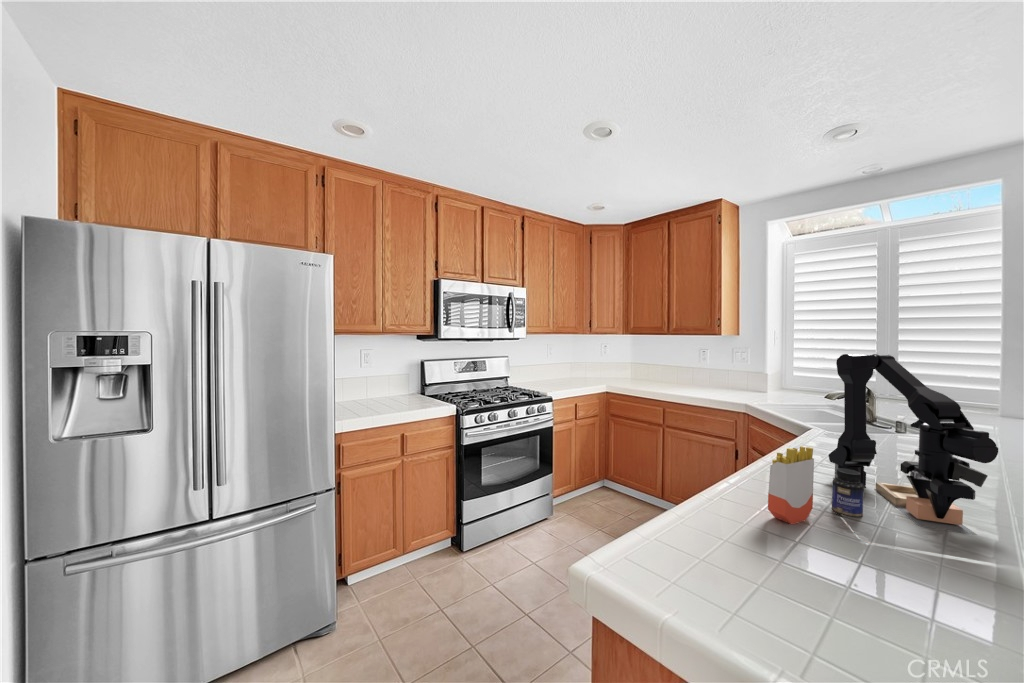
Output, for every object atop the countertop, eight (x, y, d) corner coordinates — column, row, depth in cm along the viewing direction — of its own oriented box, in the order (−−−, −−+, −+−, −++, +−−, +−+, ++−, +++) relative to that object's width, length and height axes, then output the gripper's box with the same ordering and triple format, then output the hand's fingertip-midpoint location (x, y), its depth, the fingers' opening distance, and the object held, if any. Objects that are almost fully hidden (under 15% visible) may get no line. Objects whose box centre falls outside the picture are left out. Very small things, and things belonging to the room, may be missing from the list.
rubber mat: (918, 528, 95) (918, 525, 95) (873, 490, 118) (873, 488, 118) (977, 537, 91) (977, 534, 91) (918, 496, 114) (918, 494, 114)
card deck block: (917, 518, 98) (917, 504, 98) (906, 509, 103) (906, 495, 103) (962, 525, 94) (962, 510, 94) (948, 515, 99) (948, 501, 99)
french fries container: (765, 518, 99) (767, 445, 99) (793, 510, 104) (795, 441, 103) (785, 526, 95) (787, 450, 95) (812, 518, 100) (814, 446, 99)
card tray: (895, 505, 106) (895, 497, 106) (875, 489, 117) (875, 482, 117) (943, 512, 103) (943, 503, 103) (918, 494, 114) (918, 487, 114)
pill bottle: (834, 516, 101) (835, 472, 101) (828, 507, 106) (830, 465, 106) (866, 522, 98) (867, 477, 98) (859, 512, 103) (860, 469, 103)
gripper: (1010, 466, 86) (1007, 538, 87) (956, 444, 104) (954, 504, 104) (940, 459, 91) (938, 527, 91) (900, 439, 108) (898, 497, 108)
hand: (933, 513), depth 99 cm, fingers closed on card deck block, 5 cm apart
